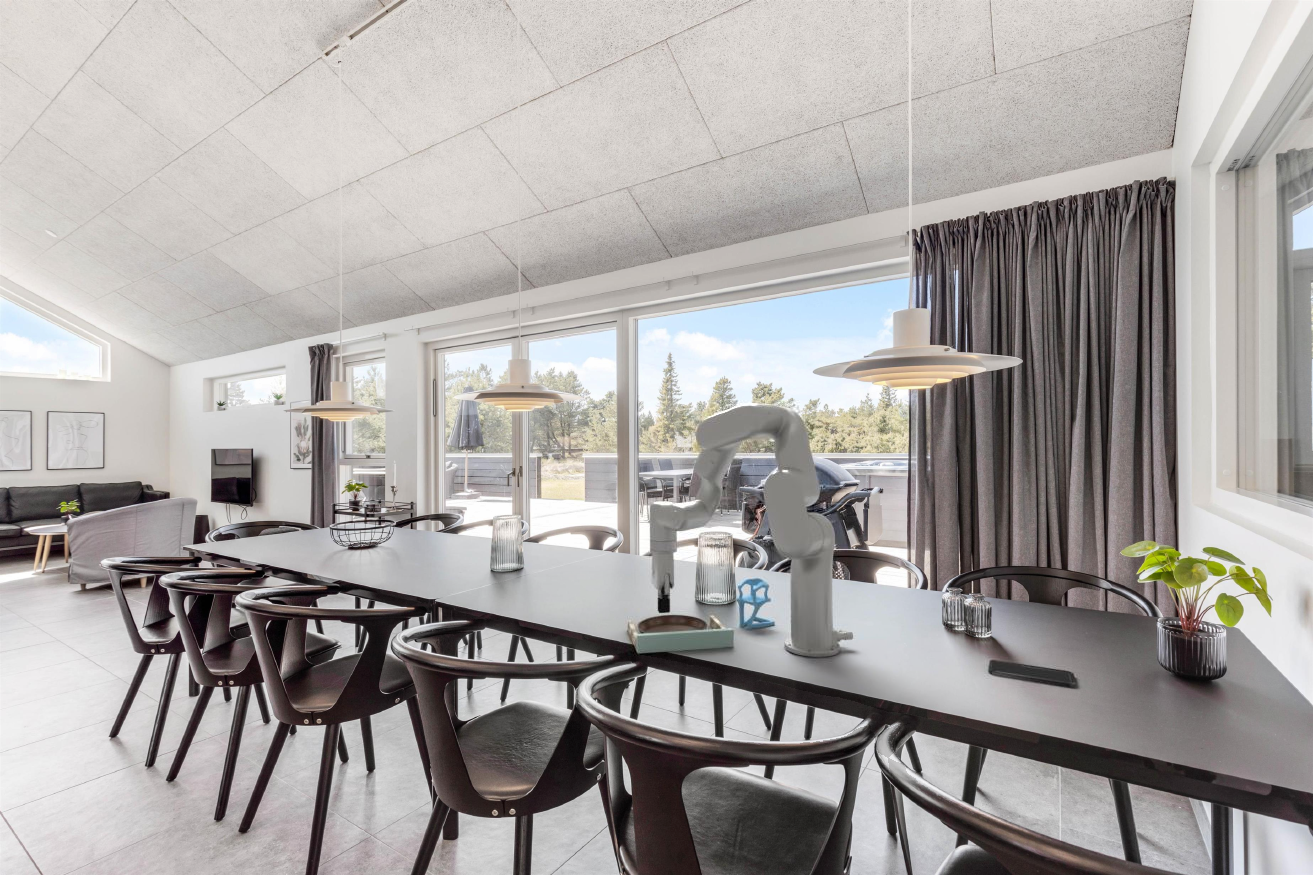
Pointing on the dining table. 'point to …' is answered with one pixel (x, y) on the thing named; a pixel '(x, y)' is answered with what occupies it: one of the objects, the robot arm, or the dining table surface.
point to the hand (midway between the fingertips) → (663, 611)
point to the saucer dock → (683, 639)
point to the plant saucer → (671, 624)
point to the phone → (1032, 673)
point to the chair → (753, 603)
